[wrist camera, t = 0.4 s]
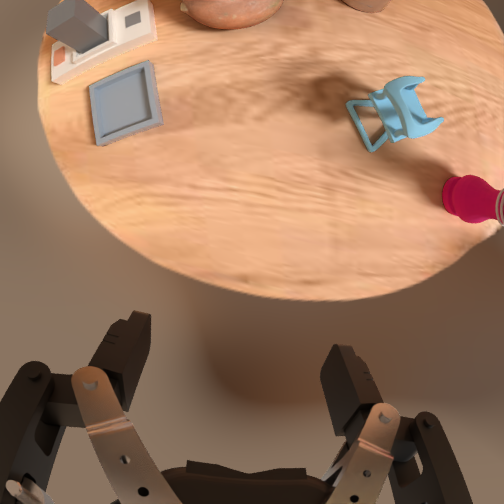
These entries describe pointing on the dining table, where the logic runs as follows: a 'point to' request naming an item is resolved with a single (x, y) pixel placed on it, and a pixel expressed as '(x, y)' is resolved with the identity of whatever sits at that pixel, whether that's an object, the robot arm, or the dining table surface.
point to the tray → (125, 104)
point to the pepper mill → (473, 199)
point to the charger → (77, 25)
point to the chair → (396, 112)
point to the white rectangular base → (120, 41)
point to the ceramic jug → (230, 12)
